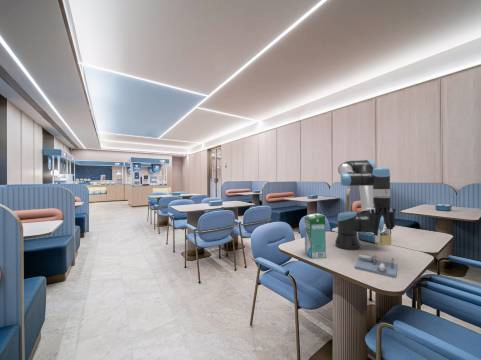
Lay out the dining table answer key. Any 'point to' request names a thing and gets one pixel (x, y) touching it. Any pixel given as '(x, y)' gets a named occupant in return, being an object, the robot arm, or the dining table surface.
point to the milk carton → (315, 236)
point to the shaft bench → (376, 266)
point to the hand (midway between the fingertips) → (382, 241)
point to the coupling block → (384, 239)
